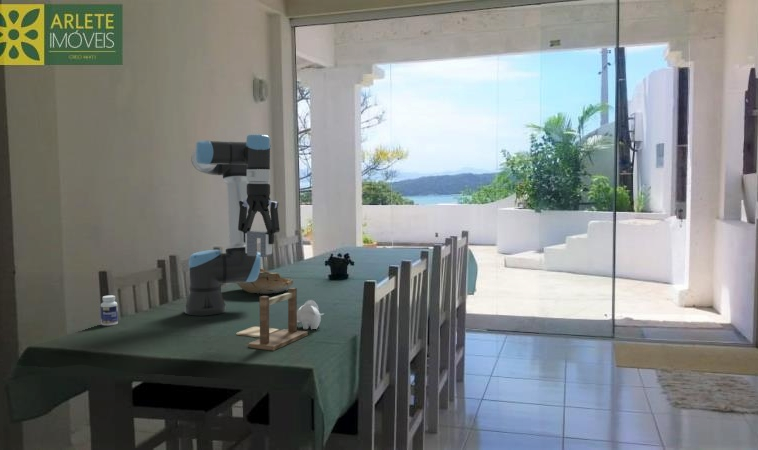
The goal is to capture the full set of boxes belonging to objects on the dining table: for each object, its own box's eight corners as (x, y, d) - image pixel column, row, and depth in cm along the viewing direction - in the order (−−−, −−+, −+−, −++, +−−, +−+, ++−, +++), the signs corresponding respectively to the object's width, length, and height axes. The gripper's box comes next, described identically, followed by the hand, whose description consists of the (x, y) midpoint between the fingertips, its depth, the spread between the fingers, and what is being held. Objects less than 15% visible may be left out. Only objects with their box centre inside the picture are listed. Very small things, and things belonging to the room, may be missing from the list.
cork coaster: (236, 334, 197) (236, 332, 197) (254, 328, 206) (254, 326, 206) (262, 337, 193) (262, 336, 193) (279, 330, 202) (279, 329, 202)
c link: (247, 255, 198) (246, 231, 197) (252, 254, 200) (252, 230, 200) (265, 257, 195) (265, 232, 194) (270, 256, 198) (270, 231, 197)
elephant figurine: (291, 324, 212) (291, 299, 212) (326, 324, 212) (326, 299, 211) (287, 330, 203) (286, 304, 202) (322, 331, 202) (322, 305, 202)
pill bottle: (101, 326, 207) (100, 298, 206) (100, 323, 212) (99, 295, 211) (118, 324, 210) (117, 297, 209) (117, 321, 214) (116, 294, 214)
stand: (273, 350, 178) (273, 299, 177) (248, 347, 182) (247, 296, 181) (307, 335, 197) (307, 288, 196) (284, 332, 200) (283, 286, 199)
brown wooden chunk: (307, 286, 278) (303, 255, 275) (267, 307, 256) (262, 273, 253) (259, 282, 294) (255, 253, 291) (218, 301, 272) (212, 269, 269)
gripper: (225, 182, 196) (226, 252, 198) (278, 183, 188) (278, 256, 190) (239, 182, 203) (240, 250, 205) (291, 183, 195) (291, 254, 197)
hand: (258, 253), depth 198 cm, fingers closed on c link, 7 cm apart
